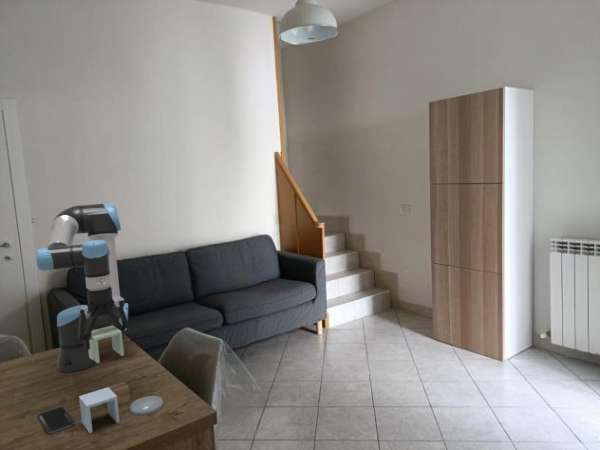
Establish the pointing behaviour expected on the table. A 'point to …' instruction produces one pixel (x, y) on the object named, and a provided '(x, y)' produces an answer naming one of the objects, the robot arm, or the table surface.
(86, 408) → the blue cover
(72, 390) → the table surface
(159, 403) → the dish
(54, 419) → the phone
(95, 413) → the table surface
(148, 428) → the table surface
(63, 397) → the table surface
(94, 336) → the sage cover
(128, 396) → the walnut block
